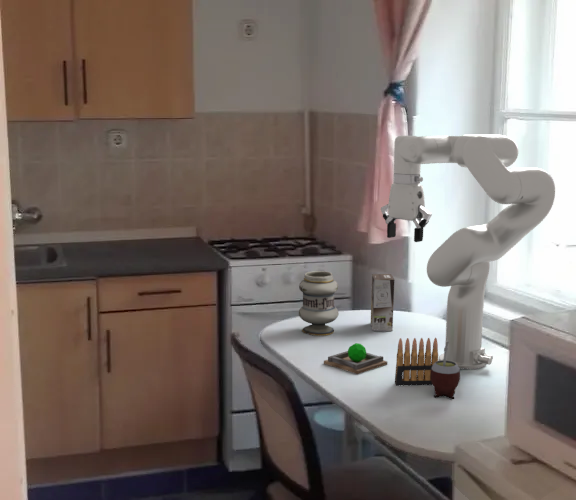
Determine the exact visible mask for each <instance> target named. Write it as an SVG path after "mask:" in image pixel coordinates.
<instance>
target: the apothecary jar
mask: <svg viewBox="0 0 576 500" xmlns="http://www.w3.org/2000/svg"><path fill="white" fill-rule="evenodd" d="M298 287H299V291H300V292H301V293H302V306H301V307H300V308H299V310H298V316H299V318H300V319H301V320H302V321H303V322H306V323H307V324H309V325H306V326H303V327H302V329H301V332H302V333H303V334H308V335H310V336H319V337H320V336H322V337H323V336H330V335H333V334H334V333H335V329H334V328H333V327H331V326H329V325H327V324H330V323H332V322H335V320H337V318H338V316H339V314H340V312H339V310H338V308H337V307H336V306H335V293H336V292H337V291H338V289H339V284H338V281H336V280H335V279H334V275H333V273H332V272H330V271H323V270H321V271H320V270H317V271H307V272H305V274H304V277H303V279H302V280H301V281H300V283H299V285H298Z"/></svg>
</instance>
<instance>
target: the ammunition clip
mask: <svg viewBox="0 0 576 500" xmlns="http://www.w3.org/2000/svg"><path fill="white" fill-rule="evenodd" d="M404 344H405V345H404ZM404 344H403V340H402V337H400V338H399V340H398V344H397V352H396V365H395V374H394V375H395V376H394V384H395V386H399V385H400V386H399V387H401V385H403V386H404V385H408V386H410V385H411V386H433V385H432V382H431V378H430V374H431V369H432V366H433V364H434V363H435V362H437V361H439V351H438V350H439V349H438V348H439V346H438V339H437V337H434V340H433V342H432V343H431V339H430V337H427V340H426V344H425V343H424V339H423V337H421V338H420V340H419V343H417V338H416V337H414V338H413V340H412V346H411V344H410V339H409V338H408V337H407V338H406V340H405V343H404ZM418 344H419V345H418ZM403 345H404V346H403ZM424 345H425V346H424ZM403 347H404V349H403ZM431 349H432V350H431ZM403 350H404V351H403ZM411 386H410V387H411Z"/></svg>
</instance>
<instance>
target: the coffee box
mask: <svg viewBox="0 0 576 500" xmlns="http://www.w3.org/2000/svg"><path fill="white" fill-rule="evenodd" d="M370 285H371V286H370V287H371V288H370V298H371V299H370V326H371V329H372V331H377V332H379V331H381V332H382V331H383V332H384V331H386V332H392V331H393V328H394V327H393V325H394V302H395V301H394V300H395V278H394V276H393V275H392V273H380V274H379V273H378V274H377V273H375V274H374V273H372V274H371V284H370Z"/></svg>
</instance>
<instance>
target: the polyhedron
mask: <svg viewBox="0 0 576 500" xmlns="http://www.w3.org/2000/svg"><path fill="white" fill-rule="evenodd" d="M347 351H348V355H349V358H350V359H351V360H352V361H354V362H360V361H362V360H363V359H365V357H366V353H367V349H366V347H365V346H364V345H363V344H362V343H354V344H351V346H349V347H348V349H347Z"/></svg>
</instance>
